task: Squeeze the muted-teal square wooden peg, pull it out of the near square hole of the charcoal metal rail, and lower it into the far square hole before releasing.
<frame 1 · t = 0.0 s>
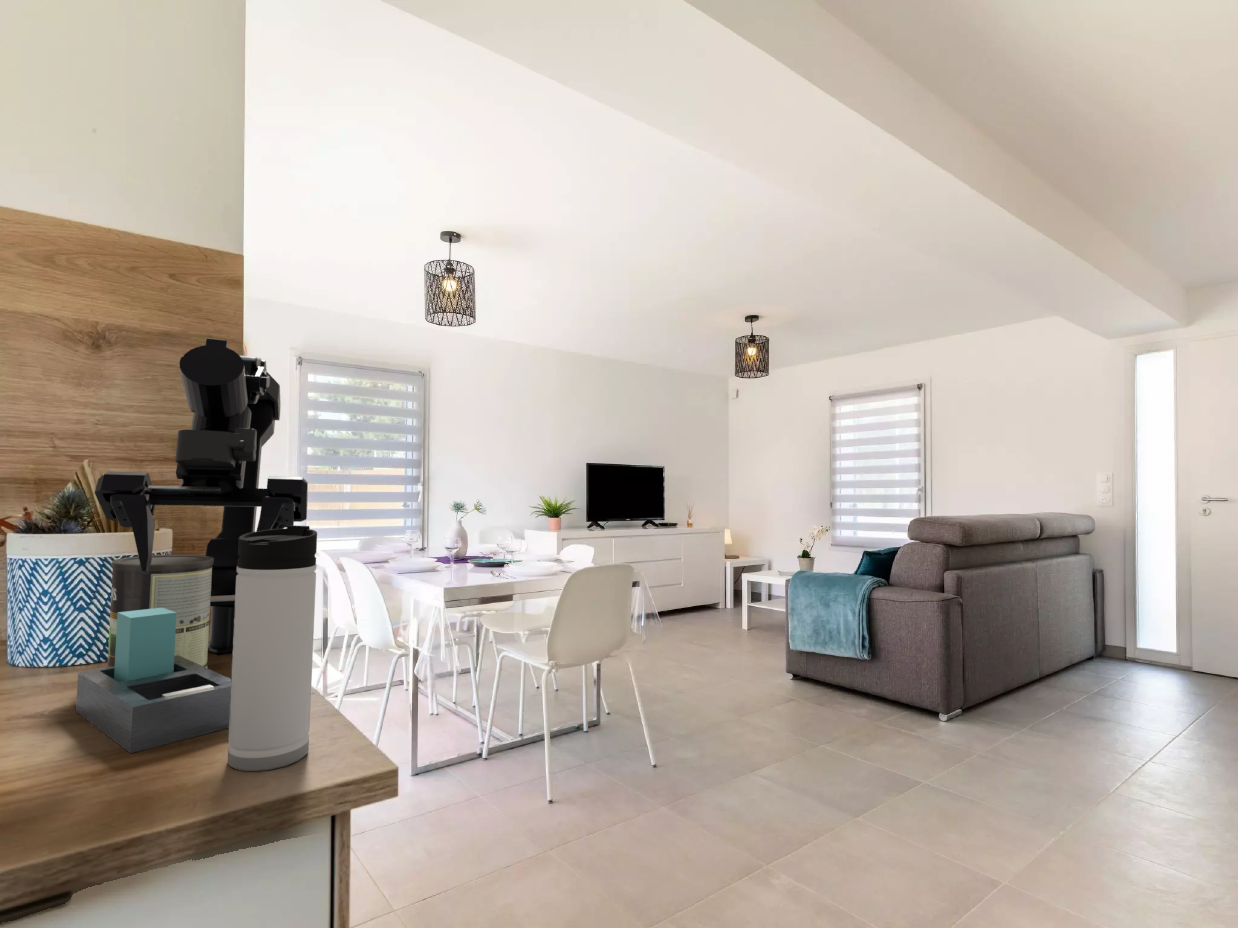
hand: (199, 570, 66), 15 cm above the kitchen counter, tool tilted 35°, fingers open, 9 cm apart
coffee can: (158, 676, 80), on the kitchen counter
teal peg: (142, 709, 68), resting in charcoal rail
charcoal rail: (156, 717, 66), on the kitchen counter
travel mug: (270, 758, 57), on the kitchen counter
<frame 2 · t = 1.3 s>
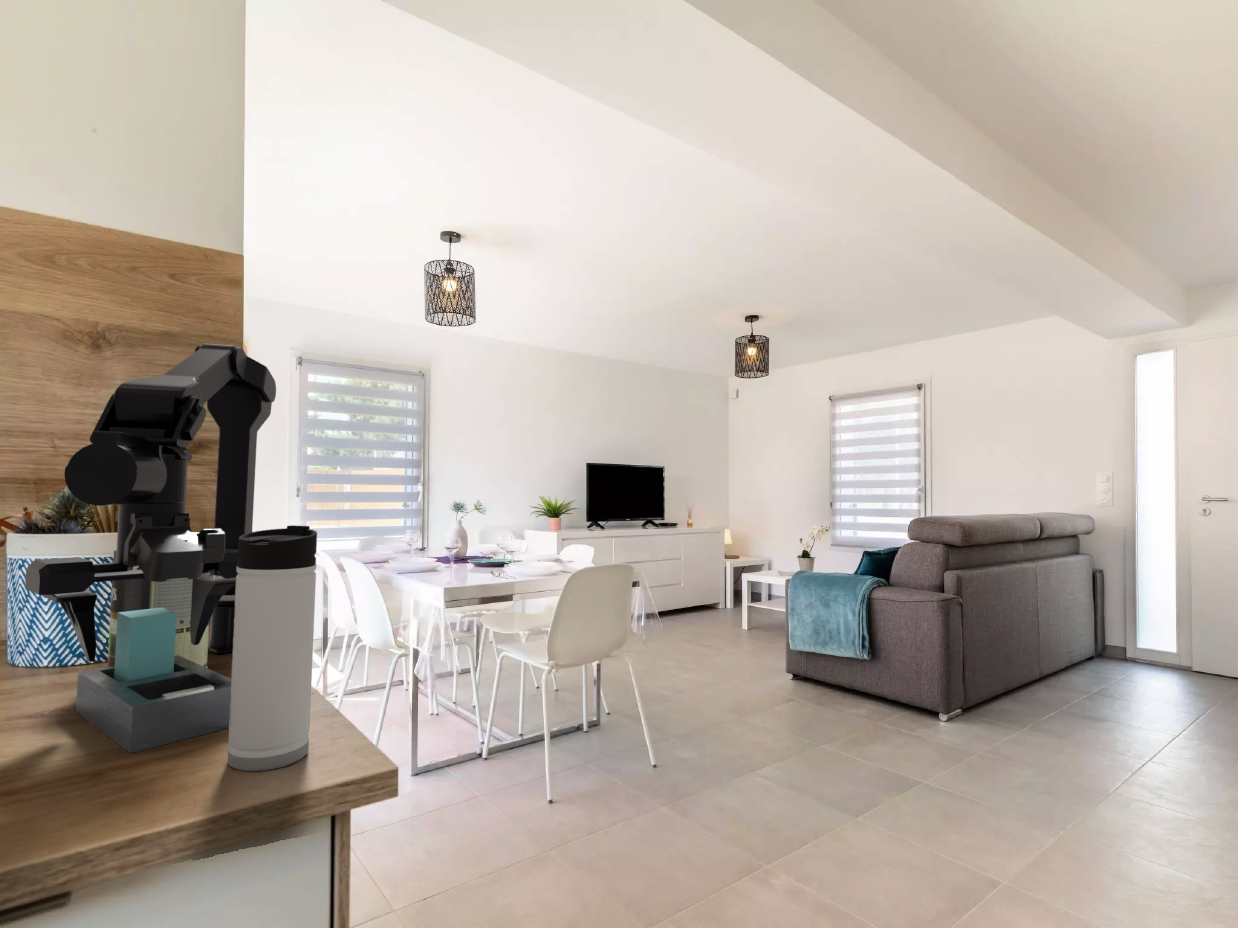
hand: (145, 652, 68), 6 cm above the kitchen counter, tool pointing down, fingers open, 9 cm apart
nothing on the kitchen counter moved.
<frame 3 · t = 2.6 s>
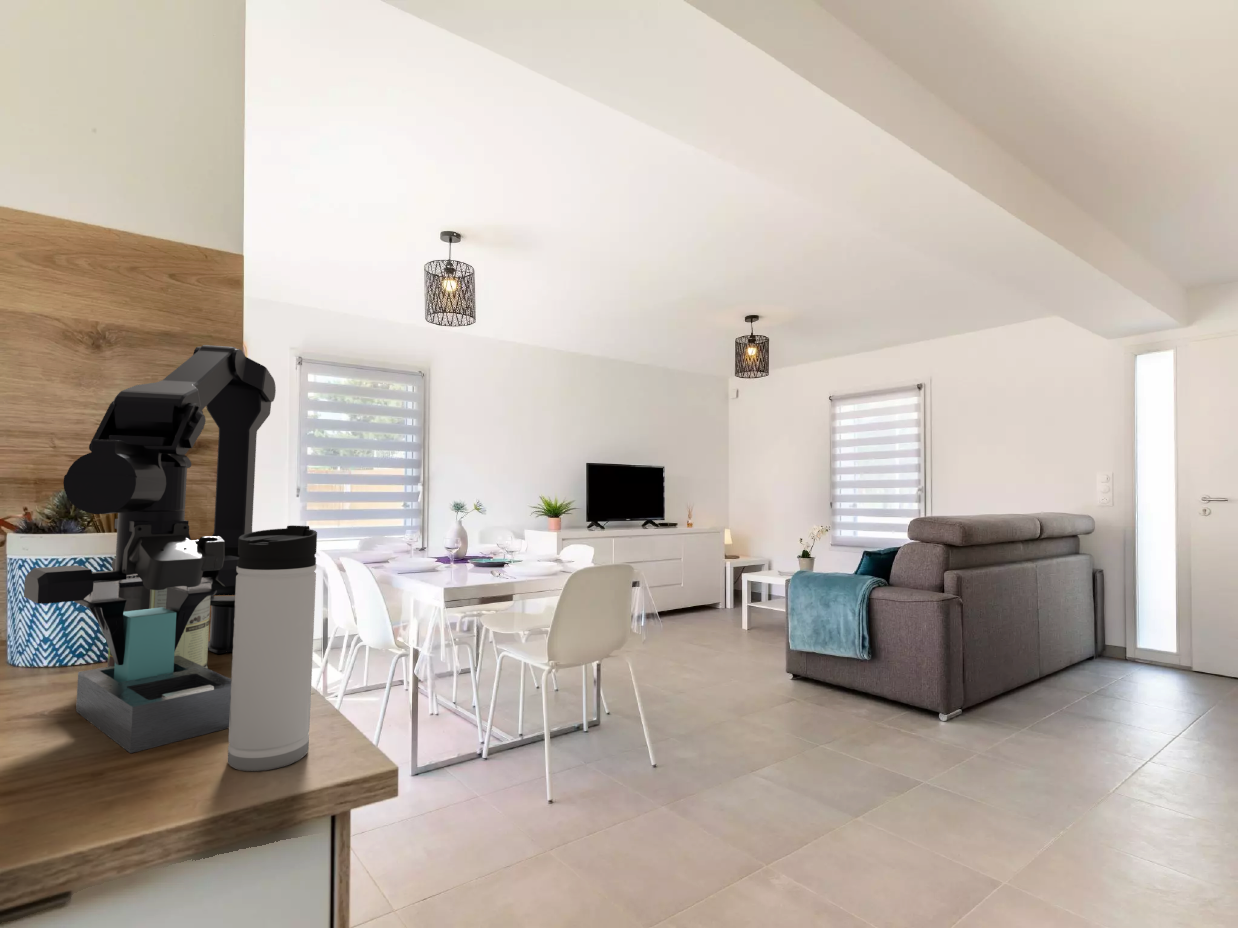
hand: (144, 660, 68), 5 cm above the kitchen counter, tool pointing down, fingers closed on teal peg, 4 cm apart
teal peg: (142, 709, 68), resting in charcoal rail, touching gripper
everything else where it was.
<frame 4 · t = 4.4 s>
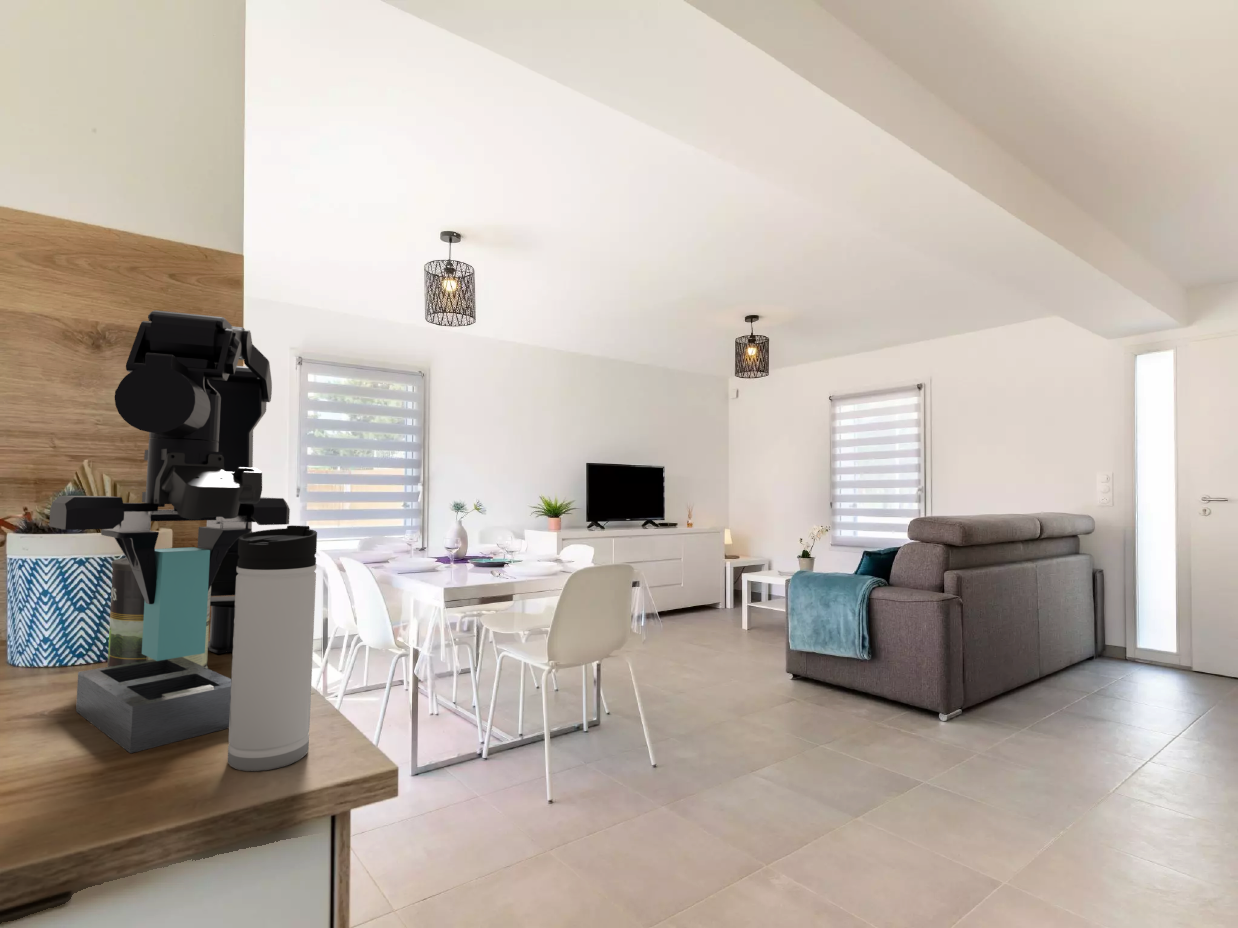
hand: (176, 600, 64), 12 cm above the kitchen counter, tool pointing down, fingers closed on teal peg, 4 cm apart
teal peg: (173, 653, 63), point 7 cm above the kitchen counter, touching gripper
everything else where it was.
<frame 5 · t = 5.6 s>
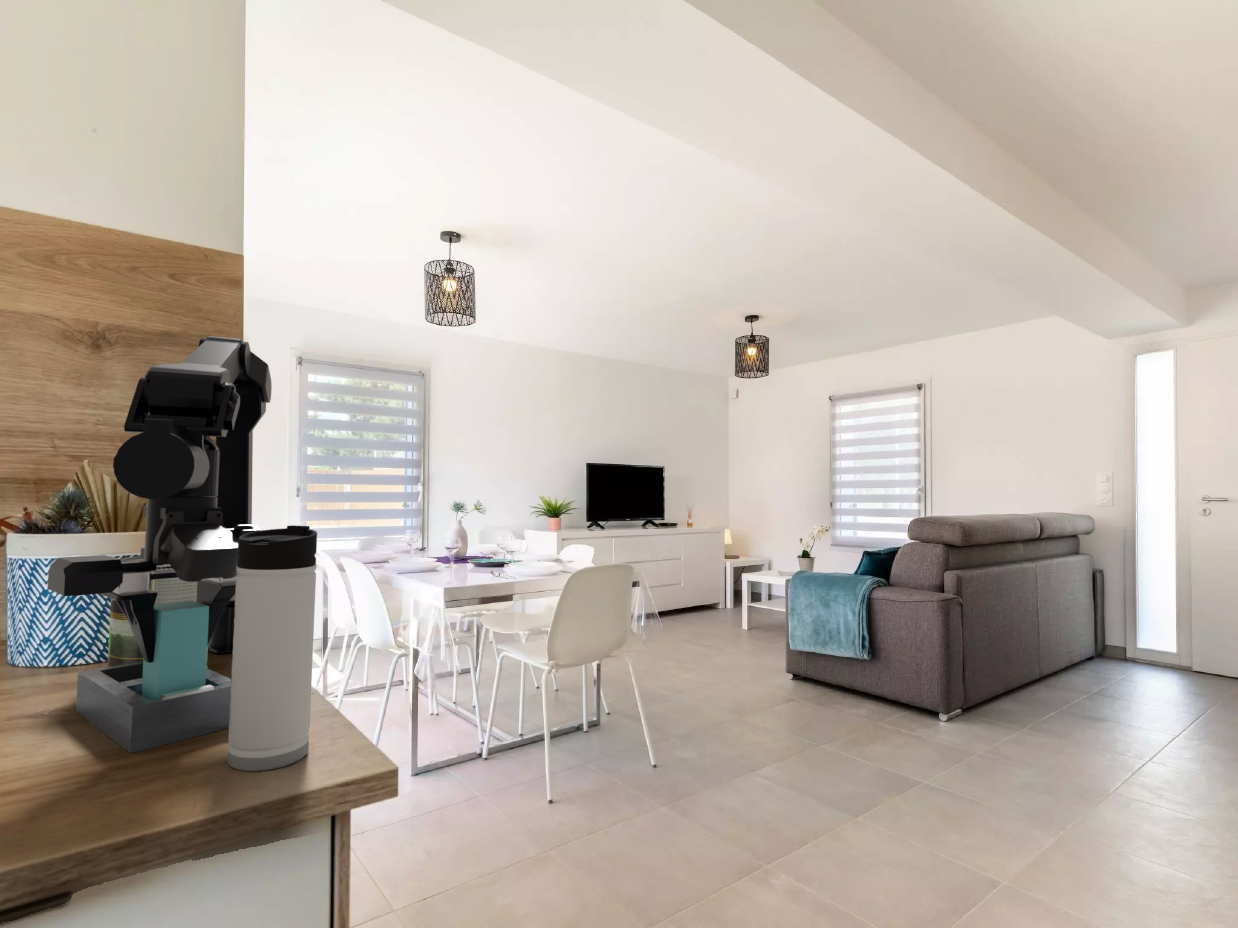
hand: (175, 657, 63), 7 cm above the kitchen counter, tool pointing down, fingers closed on teal peg, 4 cm apart
teal peg: (172, 709, 63), point 2 cm above the kitchen counter, touching gripper
everything else where it was.
when the fingers open (6 cm above the kitchen counter, at t = 6.4 s): teal peg drops 1 cm, resting in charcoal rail.
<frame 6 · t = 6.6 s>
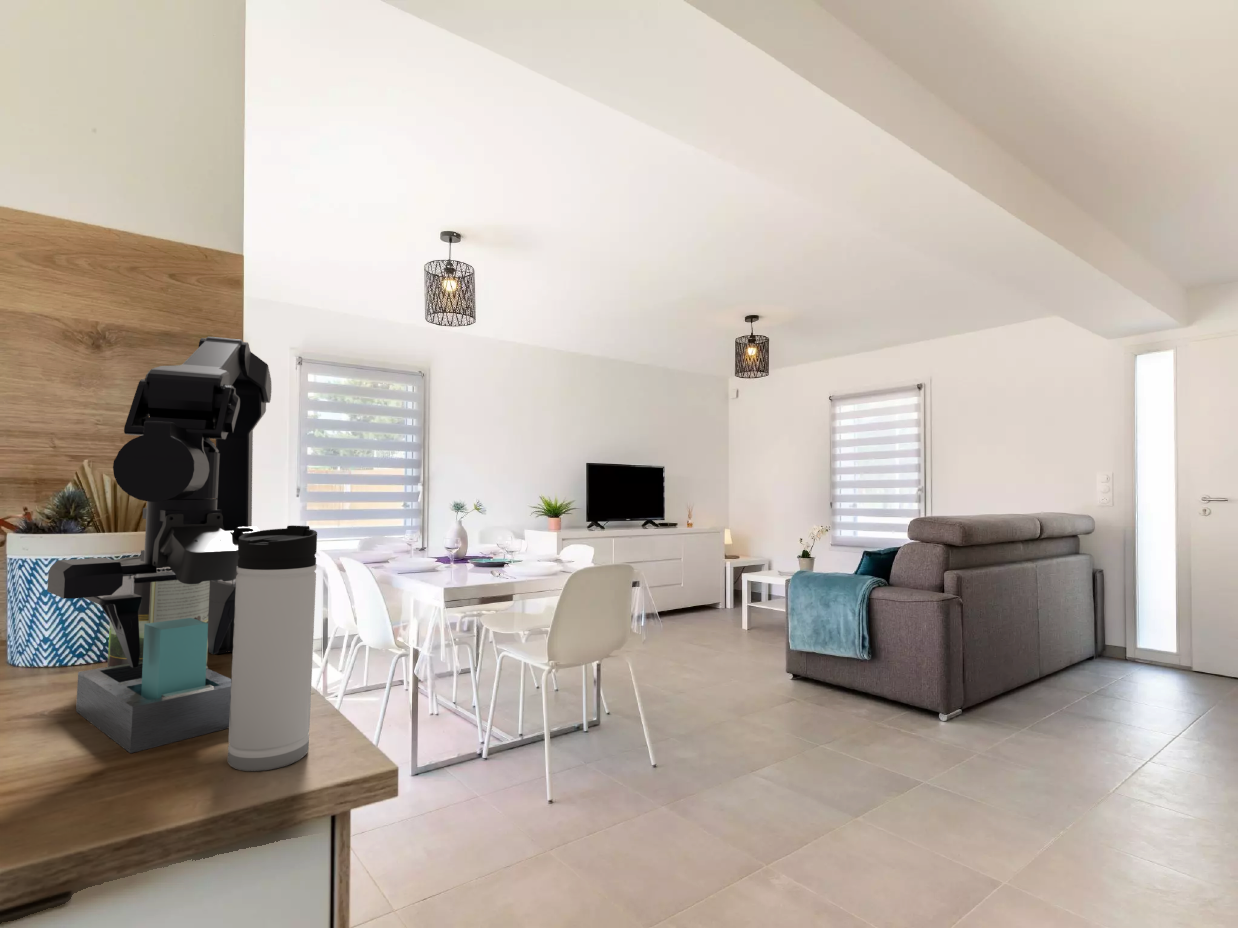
hand: (175, 659, 63), 6 cm above the kitchen counter, tool pointing down, fingers open, 6 cm apart
teal peg: (171, 727, 63), resting in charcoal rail
everything else where it was.
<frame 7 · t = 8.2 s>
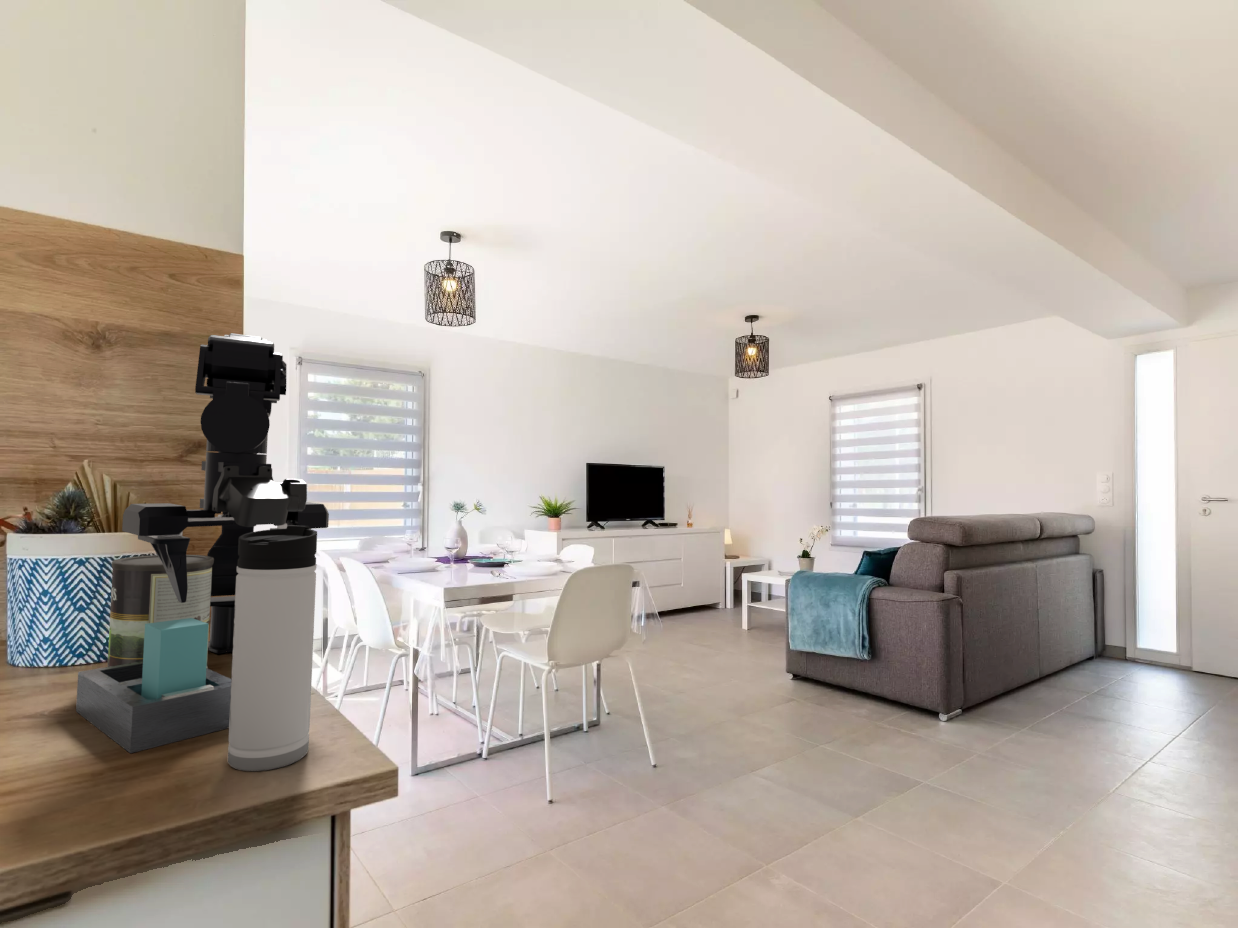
hand: (230, 596, 71), 11 cm above the kitchen counter, tool pointing down, fingers open, 9 cm apart
nothing on the kitchen counter moved.
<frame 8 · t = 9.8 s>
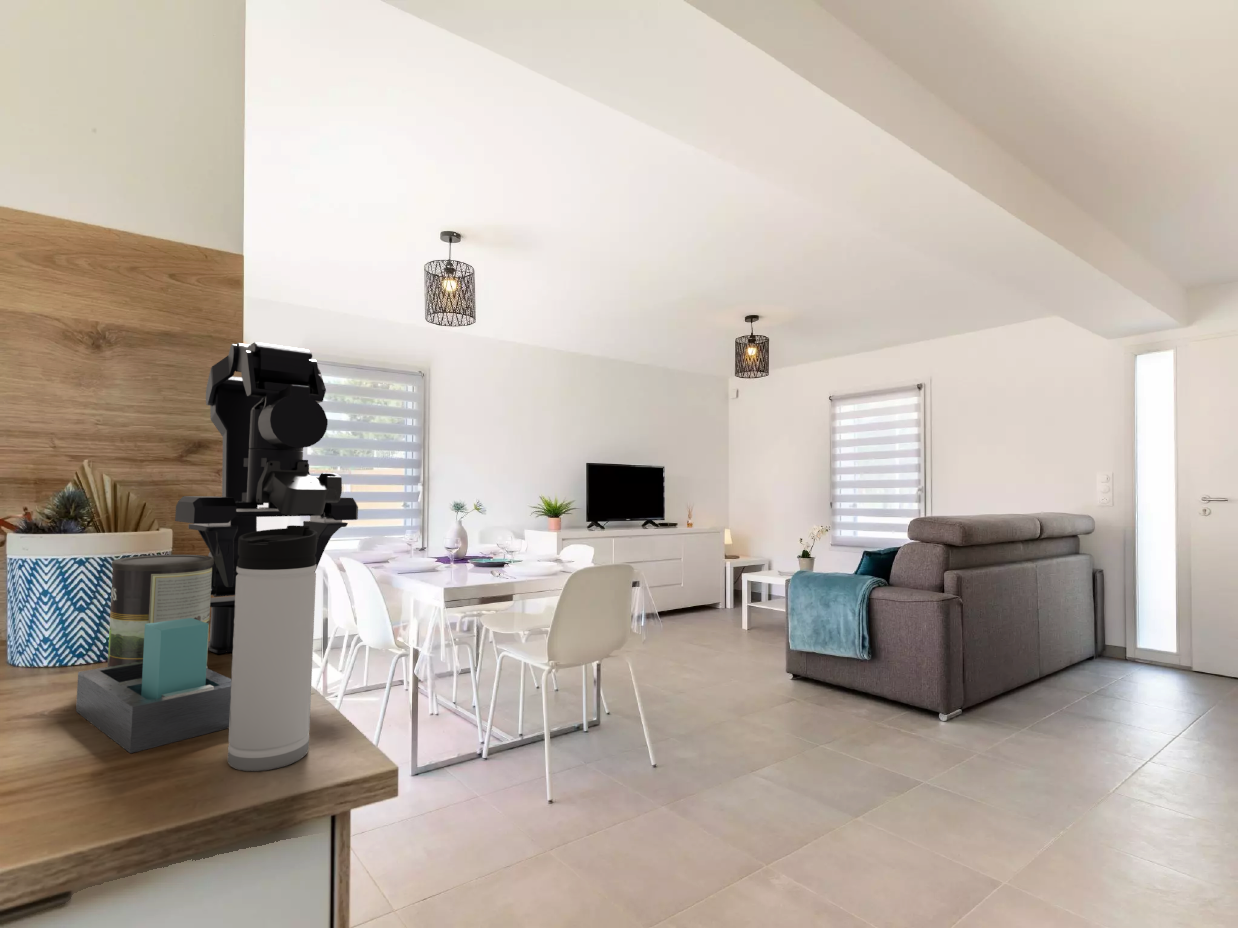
hand: (270, 582, 77), 12 cm above the kitchen counter, tool pointing down, fingers open, 9 cm apart
nothing on the kitchen counter moved.
at the end: teal peg 0.0 cm from the target spot on the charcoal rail, point 0.0 cm above the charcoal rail's base; teal peg tilted 0°; the gripper is holding nothing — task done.
